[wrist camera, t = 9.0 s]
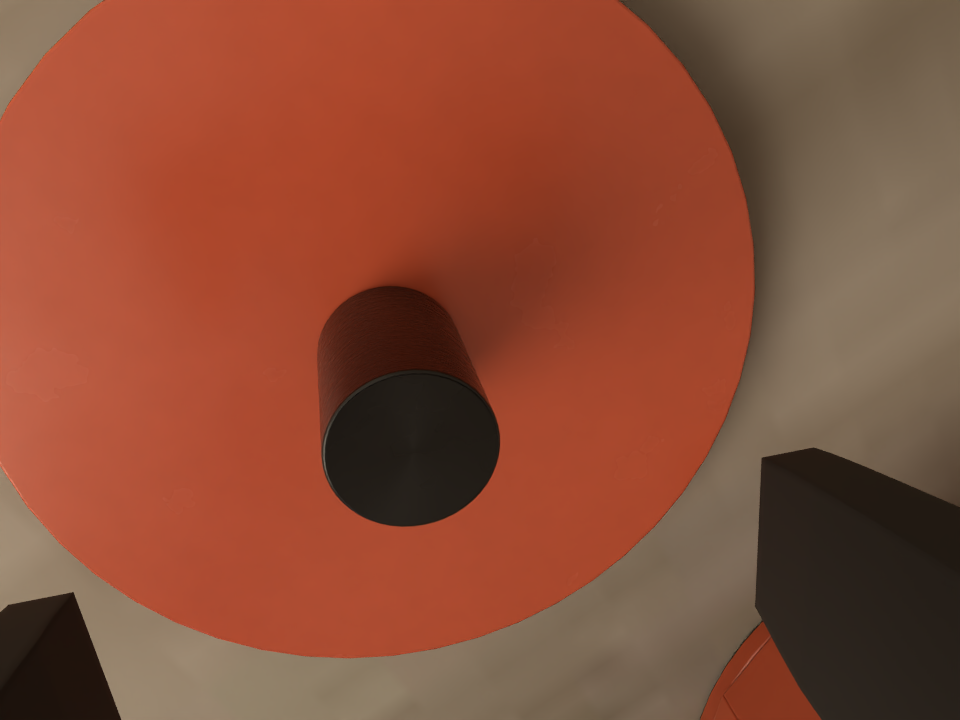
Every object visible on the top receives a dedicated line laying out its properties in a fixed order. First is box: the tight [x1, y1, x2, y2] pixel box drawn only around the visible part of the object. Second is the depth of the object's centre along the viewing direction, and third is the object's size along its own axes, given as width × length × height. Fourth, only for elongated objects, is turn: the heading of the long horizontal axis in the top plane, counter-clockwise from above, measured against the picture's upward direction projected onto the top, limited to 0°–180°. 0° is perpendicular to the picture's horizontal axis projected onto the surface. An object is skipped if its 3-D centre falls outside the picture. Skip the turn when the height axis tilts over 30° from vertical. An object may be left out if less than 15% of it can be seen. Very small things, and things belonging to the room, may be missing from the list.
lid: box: [0, 0, 755, 658], centre depth 13 cm, size 13×13×4 cm
